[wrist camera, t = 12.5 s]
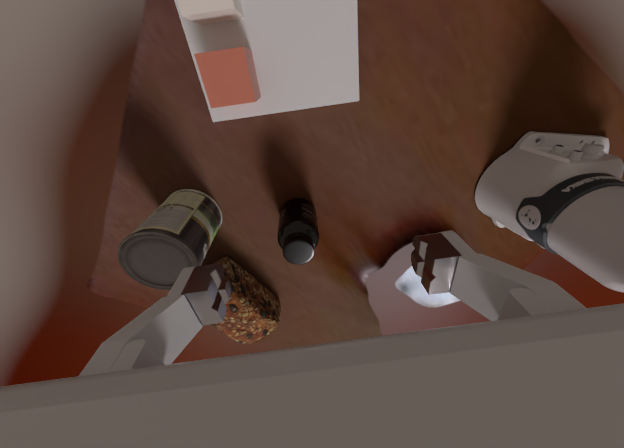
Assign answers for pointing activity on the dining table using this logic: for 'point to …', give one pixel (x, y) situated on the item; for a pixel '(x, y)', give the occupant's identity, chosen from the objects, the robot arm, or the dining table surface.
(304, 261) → the supplement bottle
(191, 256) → the coffee can
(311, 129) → the dining table surface
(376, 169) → the dining table surface
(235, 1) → the pale grey cube
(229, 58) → the salmon red cube
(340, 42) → the plate
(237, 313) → the bread
